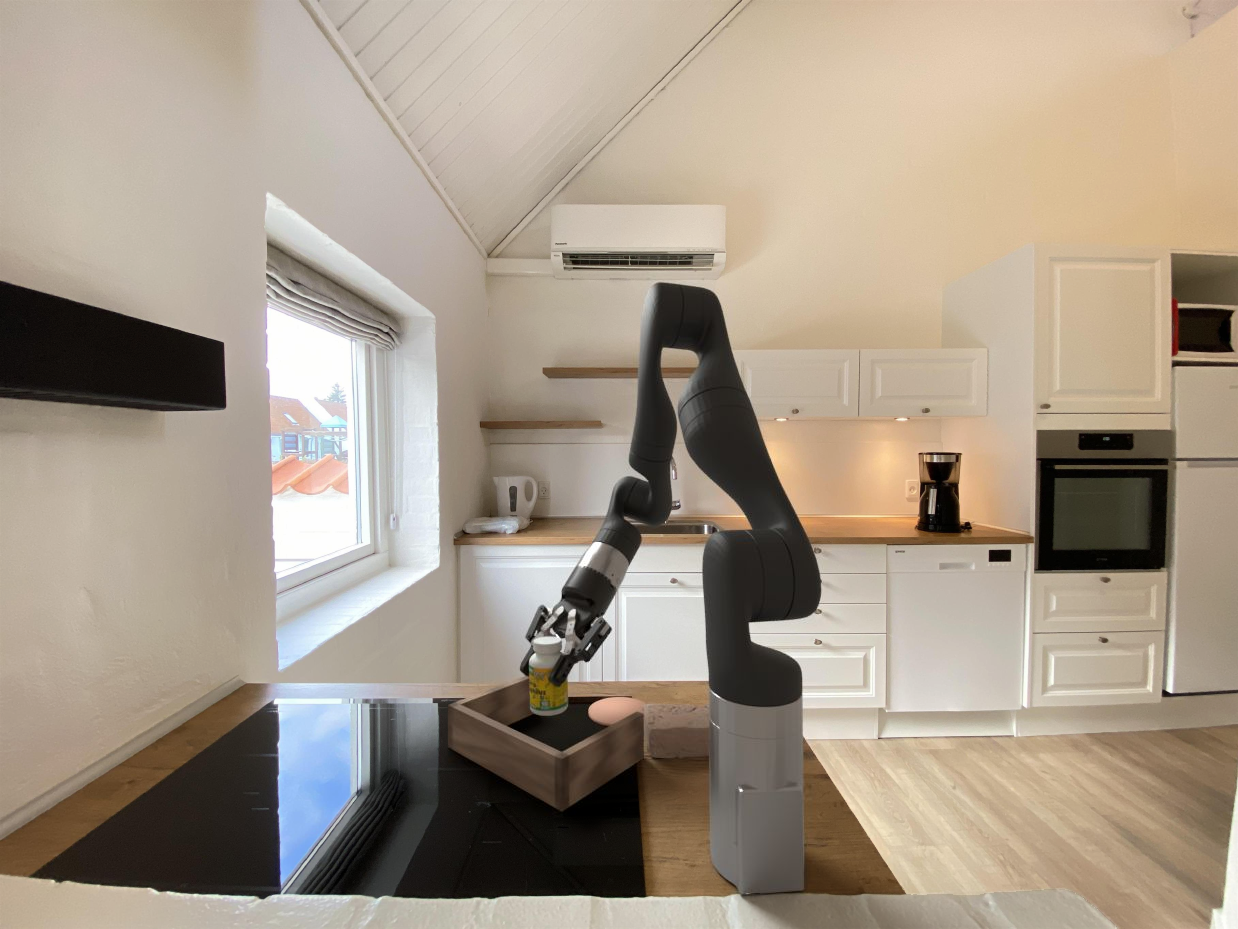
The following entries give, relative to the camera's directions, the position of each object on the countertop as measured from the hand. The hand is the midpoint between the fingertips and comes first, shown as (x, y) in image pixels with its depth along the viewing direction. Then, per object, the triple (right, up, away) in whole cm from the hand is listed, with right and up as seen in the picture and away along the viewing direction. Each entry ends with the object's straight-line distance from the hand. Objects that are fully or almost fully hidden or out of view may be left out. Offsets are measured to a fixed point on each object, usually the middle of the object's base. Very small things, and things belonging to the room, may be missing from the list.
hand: (538, 678), depth 76 cm
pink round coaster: (+11, -11, +13) cm, 20 cm away
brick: (+23, -11, +4) cm, 26 cm away
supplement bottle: (+1, -5, +1) cm, 5 cm away
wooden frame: (+1, -11, +1) cm, 11 cm away
